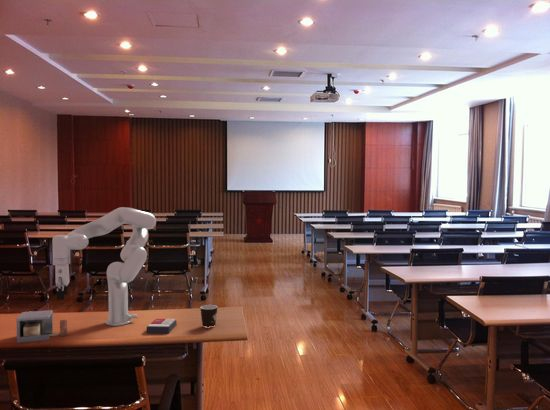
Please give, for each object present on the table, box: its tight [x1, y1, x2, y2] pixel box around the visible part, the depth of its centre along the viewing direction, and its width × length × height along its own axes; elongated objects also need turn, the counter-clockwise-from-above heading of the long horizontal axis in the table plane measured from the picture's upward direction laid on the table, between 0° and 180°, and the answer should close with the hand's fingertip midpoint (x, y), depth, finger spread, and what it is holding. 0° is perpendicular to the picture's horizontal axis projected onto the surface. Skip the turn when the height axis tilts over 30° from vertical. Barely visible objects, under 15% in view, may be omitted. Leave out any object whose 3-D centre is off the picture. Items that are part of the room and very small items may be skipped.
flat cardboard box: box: [146, 318, 177, 335], centre depth 232 cm, size 11×4×15 cm
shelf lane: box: [15, 309, 54, 344], centre depth 218 cm, size 13×12×11 cm
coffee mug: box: [199, 304, 218, 327], centre depth 237 cm, size 12×9×10 cm
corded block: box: [23, 319, 68, 337], centre depth 220 cm, size 18×6×7 cm, turn 107°
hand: (62, 296), depth 222 cm, fingers open, 9 cm apart
